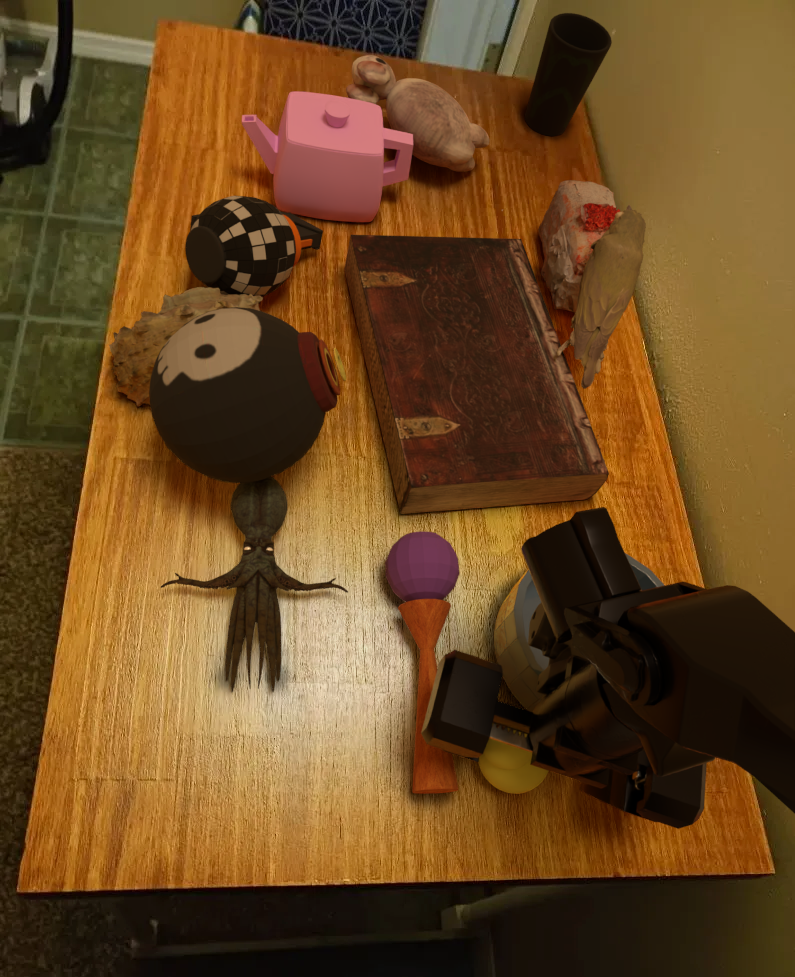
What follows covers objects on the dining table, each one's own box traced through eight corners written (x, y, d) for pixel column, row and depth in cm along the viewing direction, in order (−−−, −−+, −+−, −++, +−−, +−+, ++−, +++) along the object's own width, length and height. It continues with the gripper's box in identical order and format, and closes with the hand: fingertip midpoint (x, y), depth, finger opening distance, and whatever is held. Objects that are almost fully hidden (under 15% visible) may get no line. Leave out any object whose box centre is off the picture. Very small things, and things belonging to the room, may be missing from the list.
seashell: (287, 361, 78) (295, 277, 71) (180, 447, 70) (176, 362, 62) (199, 306, 81) (197, 219, 73) (86, 382, 72) (70, 293, 65)
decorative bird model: (642, 220, 83) (670, 198, 78) (587, 398, 79) (613, 387, 74) (599, 198, 82) (625, 175, 77) (541, 378, 78) (565, 365, 73)
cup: (514, 131, 103) (547, 40, 93) (519, 96, 107) (551, 5, 97) (572, 148, 104) (611, 59, 94) (574, 113, 108) (612, 24, 98)
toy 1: (120, 303, 63) (302, 242, 62) (198, 419, 73) (356, 369, 72) (107, 425, 54) (319, 357, 53) (198, 537, 65) (377, 483, 63)
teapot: (236, 211, 86) (239, 126, 77) (242, 146, 91) (246, 60, 83) (403, 233, 89) (424, 154, 81) (399, 169, 95) (418, 89, 86)
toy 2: (376, 101, 102) (301, 80, 90) (408, 44, 98) (334, 14, 86) (530, 242, 96) (472, 241, 83) (571, 188, 92) (517, 178, 80)
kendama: (394, 788, 56) (383, 521, 65) (393, 796, 61) (384, 548, 70) (481, 784, 56) (459, 518, 65) (472, 793, 61) (453, 546, 70)
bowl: (648, 761, 65) (682, 744, 60) (477, 703, 64) (498, 682, 60) (663, 602, 72) (694, 577, 68) (511, 549, 72) (532, 520, 67)
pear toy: (548, 809, 60) (532, 772, 53) (477, 794, 62) (453, 757, 55) (560, 738, 63) (546, 694, 56) (492, 725, 65) (470, 682, 58)
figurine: (148, 687, 56) (168, 452, 63) (153, 701, 61) (172, 481, 68) (355, 688, 59) (352, 462, 66) (343, 700, 64) (342, 490, 71)
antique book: (591, 498, 76) (614, 471, 72) (399, 515, 71) (411, 487, 67) (510, 270, 90) (524, 236, 86) (343, 271, 85) (350, 234, 81)
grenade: (159, 176, 73) (277, 167, 84) (151, 274, 79) (263, 254, 90) (245, 225, 69) (359, 209, 80) (231, 326, 74) (339, 298, 85)
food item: (613, 328, 89) (655, 261, 80) (544, 322, 87) (580, 254, 79) (588, 238, 95) (624, 168, 87) (523, 231, 94) (554, 159, 85)
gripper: (761, 635, 53) (651, 703, 66) (489, 542, 52) (433, 629, 65) (757, 810, 47) (636, 846, 60) (450, 706, 46) (397, 765, 59)
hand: (524, 764), depth 61 cm, fingers open, 9 cm apart
